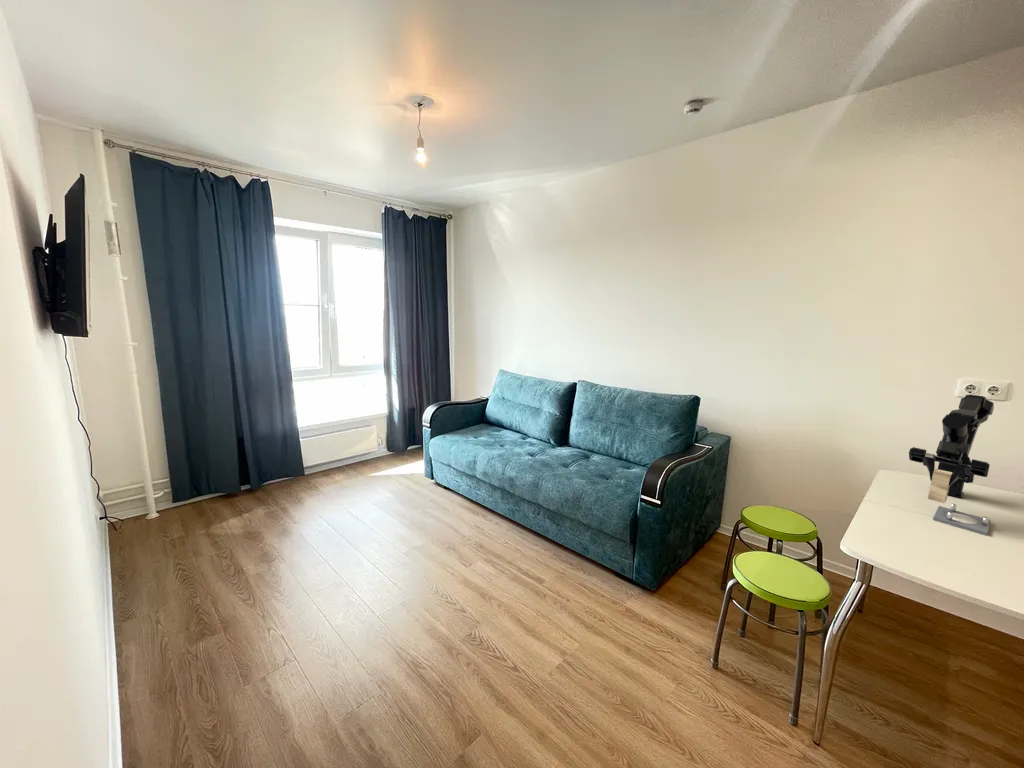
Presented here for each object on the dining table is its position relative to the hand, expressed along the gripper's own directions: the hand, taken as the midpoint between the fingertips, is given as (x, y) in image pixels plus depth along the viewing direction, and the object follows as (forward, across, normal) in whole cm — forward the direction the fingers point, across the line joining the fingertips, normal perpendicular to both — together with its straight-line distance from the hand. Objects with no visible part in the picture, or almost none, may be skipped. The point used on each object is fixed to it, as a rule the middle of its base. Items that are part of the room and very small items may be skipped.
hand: (940, 482), depth 138 cm
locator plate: (+7, +6, +10) cm, 14 cm away
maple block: (+4, 0, +6) cm, 7 cm away
